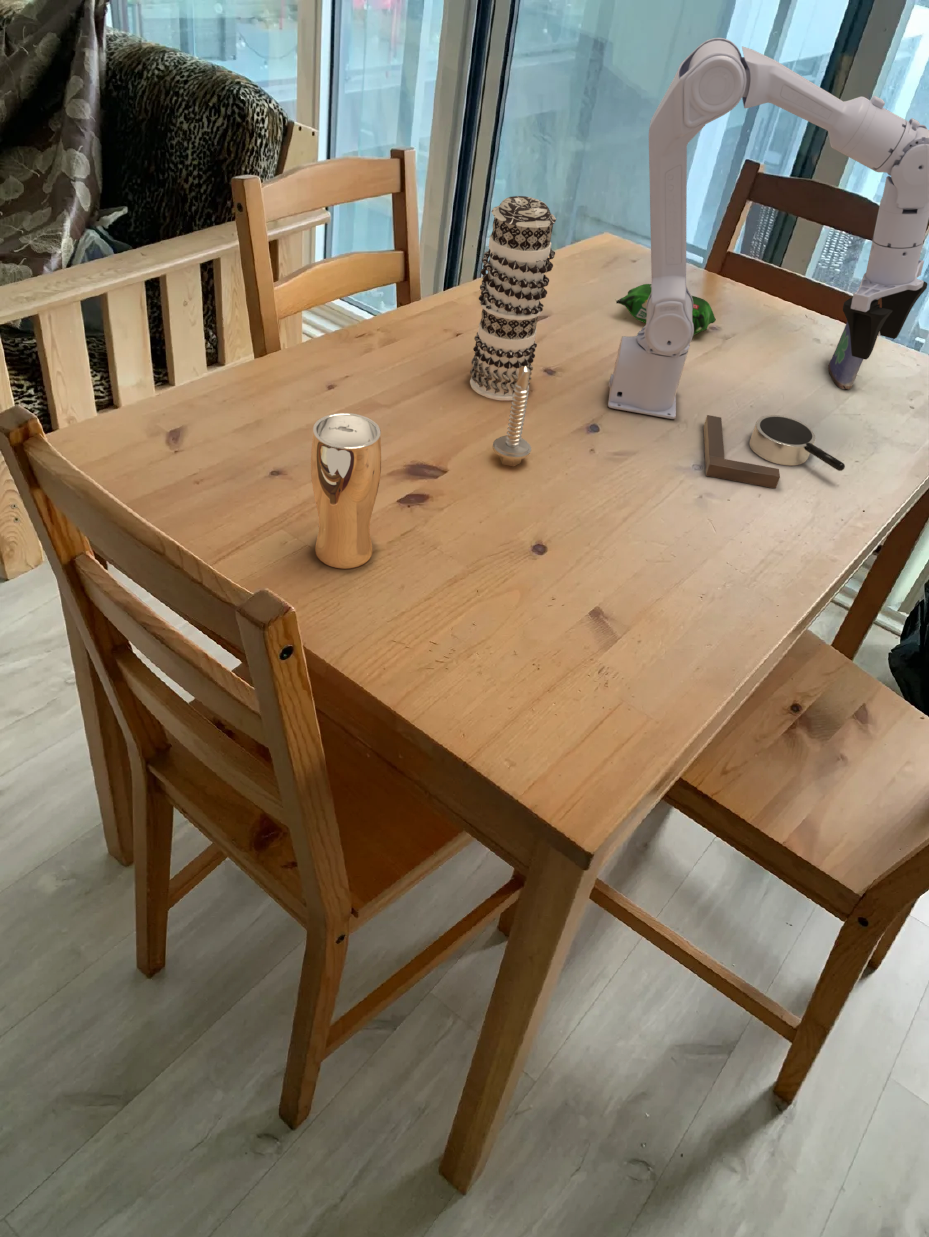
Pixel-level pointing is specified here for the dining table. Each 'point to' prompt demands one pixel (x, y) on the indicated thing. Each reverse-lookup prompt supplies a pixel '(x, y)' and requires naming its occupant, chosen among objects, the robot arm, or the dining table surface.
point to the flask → (844, 362)
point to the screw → (515, 425)
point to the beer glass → (345, 486)
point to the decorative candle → (511, 294)
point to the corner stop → (730, 468)
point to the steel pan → (787, 442)
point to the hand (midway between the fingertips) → (874, 346)
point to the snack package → (638, 302)
